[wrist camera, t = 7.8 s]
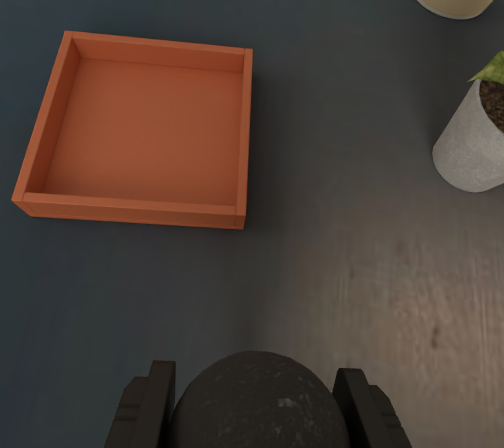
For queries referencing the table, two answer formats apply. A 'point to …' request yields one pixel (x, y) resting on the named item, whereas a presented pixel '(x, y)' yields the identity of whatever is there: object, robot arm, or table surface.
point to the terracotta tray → (141, 134)
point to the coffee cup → (456, 7)
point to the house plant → (476, 134)
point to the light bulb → (257, 407)
